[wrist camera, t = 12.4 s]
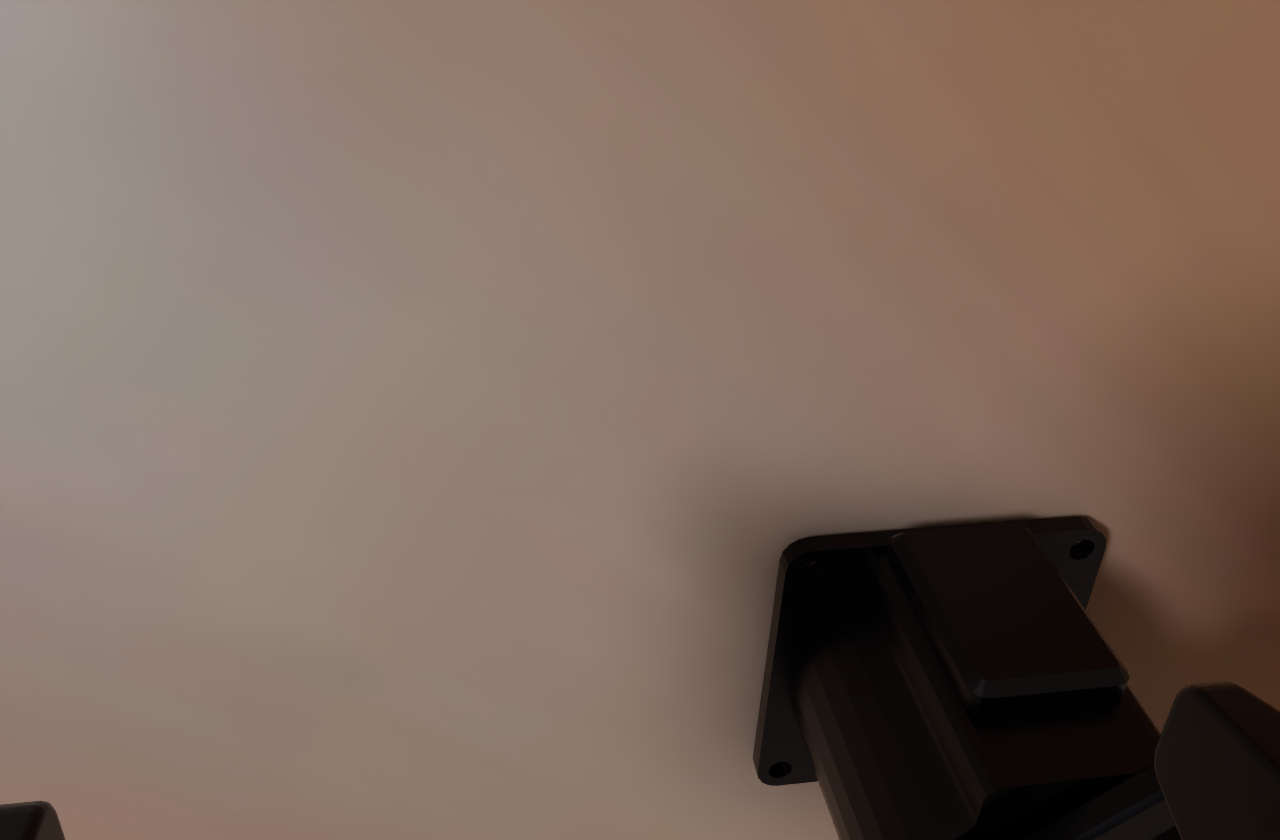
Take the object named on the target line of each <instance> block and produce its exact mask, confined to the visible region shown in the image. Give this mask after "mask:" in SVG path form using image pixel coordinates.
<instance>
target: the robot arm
mask: <svg viewBox="0 0 1280 840" xmlns="http://www.w3.org/2000/svg"><path fill="white" fill-rule="evenodd" d="M1081 540H1082V541H1081ZM1078 541H1081V542H1080V543H1078V544H1077V545H1075V546H1073V545H1074V544H1075V543H1077V542H1078ZM1105 547H1106V539H1105V537H1104V535H1103V534H1102V532H1101V531H1100V530H1099V528H1098V527H1097V526H1096V524H1095V523H1094V522H1093V521H1092V520H1090V519H1088V518H1083V517H1072V518H1059V519H1046V520H1032V521H1019V522H1006V523H993V524H980V525H966V526H953V527H940V528H927V529H913V530H900V531H887V532H874V533H861V534H847V535H834V536H821V537H808V538H804V539H799V540H797V541H795V542H793V543H792V544H790V545H789V546H788V547H787V548H786V549H785V550H784V551H783V553H782V555H781V558H780V562H779V569H778V577H777V584H776V592H775V599H774V606H773V614H772V621H771V628H770V636H769V643H768V651H767V658H766V665H765V673H764V680H763V687H762V695H761V702H760V710H759V717H758V724H757V732H756V739H755V746H754V754H753V761H754V766H755V769H756V772H757V775H758V778H759V779H760V780H761V781H762V783H765V784H767V785H776V786H778V785H787V784H797V783H806V782H815V781H819V784H820V787H821V790H822V792H823V795H824V798H825V801H826V803H827V806H828V809H829V812H830V815H831V817H832V820H833V823H834V826H835V828H836V831H837V834H838V837H839V839H840V840H1280V711H1278V710H1277V709H1275V708H1274V707H1272V706H1271V705H1269V704H1267V703H1266V702H1264V701H1263V700H1261V699H1259V698H1258V697H1256V696H1255V695H1253V694H1252V693H1250V692H1248V691H1247V690H1245V689H1244V688H1242V687H1240V686H1238V685H1236V684H1233V683H1230V682H1213V683H1203V684H1193V685H1188V686H1185V687H1184V688H1183V689H1182V690H1180V692H1179V693H1178V694H1177V696H1176V698H1175V700H1174V703H1173V706H1172V708H1171V711H1170V713H1169V716H1168V718H1167V721H1166V723H1165V726H1164V728H1163V731H1162V733H1161V734H1160V732H1159V731H1158V729H1157V728H1156V726H1155V725H1154V723H1153V722H1152V721H1151V719H1150V718H1149V716H1148V715H1147V713H1146V712H1145V710H1144V709H1143V707H1142V706H1141V704H1140V703H1139V701H1138V700H1137V698H1136V697H1135V696H1134V694H1133V693H1132V691H1131V690H1130V688H1129V687H1128V685H1127V683H1128V680H1129V675H1128V672H1127V670H1126V668H1125V667H1124V665H1123V664H1122V663H1121V661H1120V660H1119V658H1118V657H1117V655H1116V654H1115V652H1114V651H1113V649H1112V648H1111V647H1110V645H1109V644H1108V642H1107V641H1106V639H1105V638H1104V636H1103V635H1102V634H1101V632H1100V631H1099V629H1098V628H1097V626H1096V625H1095V623H1094V622H1093V620H1092V619H1091V618H1090V616H1089V615H1088V613H1087V612H1086V607H1087V604H1088V601H1089V597H1090V594H1091V591H1092V588H1093V585H1094V582H1095V579H1096V576H1097V573H1098V570H1099V566H1100V563H1101V560H1102V557H1103V554H1104V551H1105ZM811 561H816V562H815V563H814V564H813V565H812V566H810V567H807V568H800V567H801V566H802V565H804V564H805V563H807V562H811ZM0 840H65V837H64V834H63V831H62V828H61V825H60V822H59V819H58V816H57V813H56V811H55V809H54V808H53V806H52V805H51V804H50V803H48V802H45V801H33V802H23V803H14V804H4V805H0Z"/></svg>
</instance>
